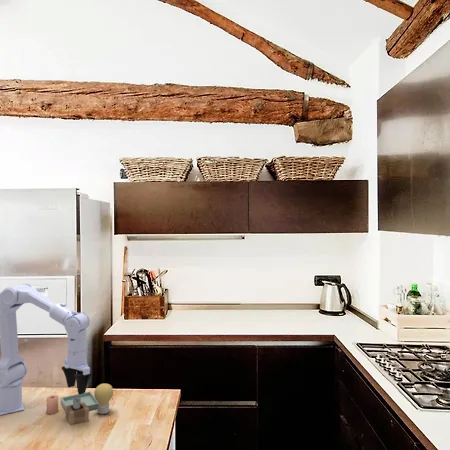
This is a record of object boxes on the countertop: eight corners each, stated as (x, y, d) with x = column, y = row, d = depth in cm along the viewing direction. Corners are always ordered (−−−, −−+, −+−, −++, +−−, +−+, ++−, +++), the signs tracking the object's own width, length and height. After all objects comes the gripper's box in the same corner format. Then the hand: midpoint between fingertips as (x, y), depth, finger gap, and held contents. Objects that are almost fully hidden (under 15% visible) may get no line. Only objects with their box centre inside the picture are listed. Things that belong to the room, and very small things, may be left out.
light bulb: (114, 408, 149) (115, 380, 148) (110, 416, 142) (110, 388, 142) (96, 408, 148) (97, 380, 148) (91, 416, 142) (92, 387, 142)
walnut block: (65, 417, 141) (65, 406, 141) (83, 413, 144) (83, 401, 144) (70, 425, 136) (70, 413, 136) (88, 420, 139) (88, 408, 139)
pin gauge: (71, 418, 140) (72, 398, 140) (78, 416, 142) (78, 396, 142) (74, 421, 139) (74, 400, 138) (81, 419, 140) (81, 398, 140)
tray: (60, 402, 152) (60, 397, 152) (90, 395, 159) (90, 391, 159) (68, 415, 143) (68, 410, 142) (100, 408, 149) (100, 403, 149)
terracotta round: (45, 410, 146) (45, 396, 146) (56, 408, 148) (56, 394, 148) (47, 415, 143) (48, 400, 143) (59, 412, 145) (59, 397, 145)
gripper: (56, 347, 142) (55, 386, 143) (75, 358, 132) (75, 400, 132) (75, 343, 147) (75, 381, 148) (96, 353, 137) (95, 393, 137)
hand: (76, 389), depth 140 cm, fingers open, 7 cm apart
